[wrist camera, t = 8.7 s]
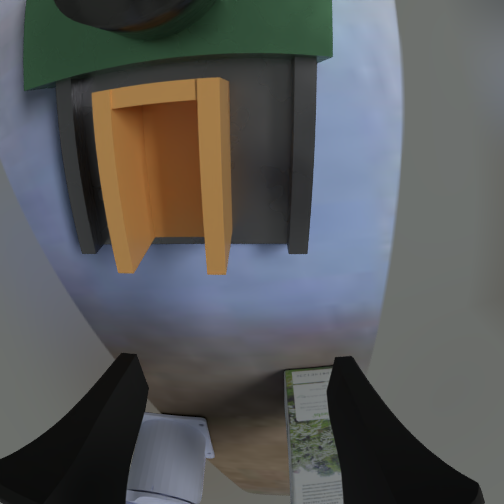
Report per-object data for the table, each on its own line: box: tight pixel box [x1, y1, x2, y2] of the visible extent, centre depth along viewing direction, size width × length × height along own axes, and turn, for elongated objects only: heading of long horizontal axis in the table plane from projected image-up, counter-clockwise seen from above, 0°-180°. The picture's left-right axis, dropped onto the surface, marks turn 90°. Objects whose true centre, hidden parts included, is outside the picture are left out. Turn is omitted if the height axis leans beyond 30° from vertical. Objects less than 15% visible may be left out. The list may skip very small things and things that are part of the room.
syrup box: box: [284, 366, 343, 504], centre depth 19 cm, size 6×6×14 cm
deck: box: [23, 0, 333, 254], centre depth 11 cm, size 18×15×7 cm
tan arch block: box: [92, 77, 232, 275], centre depth 14 cm, size 8×5×4 cm, turn 0°
